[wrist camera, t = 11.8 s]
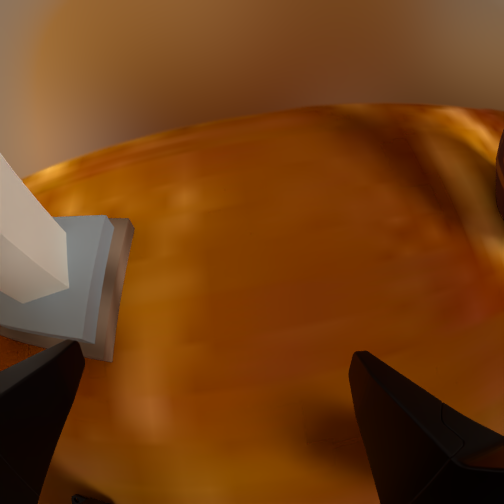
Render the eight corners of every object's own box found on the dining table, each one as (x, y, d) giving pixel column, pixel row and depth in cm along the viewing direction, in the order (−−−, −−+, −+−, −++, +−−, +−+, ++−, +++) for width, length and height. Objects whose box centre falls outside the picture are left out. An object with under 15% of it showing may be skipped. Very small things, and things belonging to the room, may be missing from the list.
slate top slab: (94, 343, 20) (82, 339, 18) (7, 328, 20) (-6, 322, 18) (114, 227, 24) (105, 215, 23) (30, 229, 24) (20, 219, 22)
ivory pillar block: (69, 288, 20) (-36, 199, 9) (22, 303, 19) (-83, 232, 8) (66, 232, 22) (-14, 132, 11) (22, 250, 21) (-62, 167, 10)
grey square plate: (116, 363, 22) (103, 359, 20) (14, 340, 22) (-2, 334, 20) (137, 232, 27) (128, 218, 25) (41, 230, 27) (29, 219, 25)
